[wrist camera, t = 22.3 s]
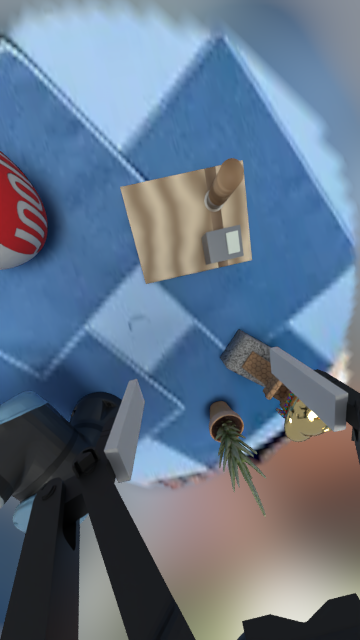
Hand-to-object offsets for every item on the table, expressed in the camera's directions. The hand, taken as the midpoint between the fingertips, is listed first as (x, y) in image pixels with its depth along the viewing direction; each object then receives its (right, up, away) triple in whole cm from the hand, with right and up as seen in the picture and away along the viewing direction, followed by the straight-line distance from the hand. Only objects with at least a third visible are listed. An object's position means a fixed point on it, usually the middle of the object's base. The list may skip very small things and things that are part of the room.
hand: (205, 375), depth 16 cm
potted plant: (+10, -22, +37) cm, 44 cm away
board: (0, +27, +23) cm, 35 cm away
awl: (+5, +31, +20) cm, 37 cm away
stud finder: (+6, +22, +23) cm, 32 cm away
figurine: (+17, -5, +33) cm, 37 cm away
